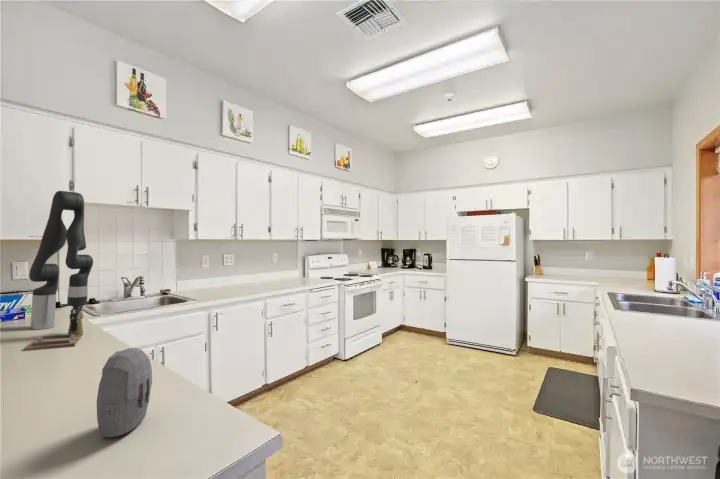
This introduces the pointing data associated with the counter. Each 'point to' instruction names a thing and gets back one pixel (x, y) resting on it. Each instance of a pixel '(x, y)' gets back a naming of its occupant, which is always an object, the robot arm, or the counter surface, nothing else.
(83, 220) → the robot arm
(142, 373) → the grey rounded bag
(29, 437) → the counter surface
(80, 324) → the cork
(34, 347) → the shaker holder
